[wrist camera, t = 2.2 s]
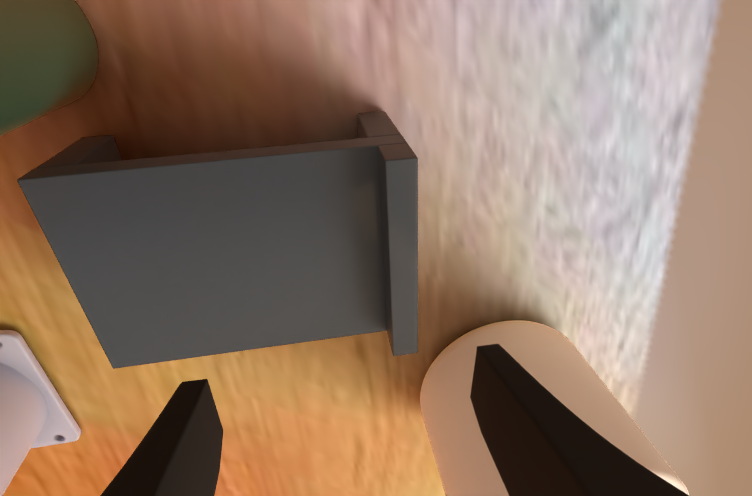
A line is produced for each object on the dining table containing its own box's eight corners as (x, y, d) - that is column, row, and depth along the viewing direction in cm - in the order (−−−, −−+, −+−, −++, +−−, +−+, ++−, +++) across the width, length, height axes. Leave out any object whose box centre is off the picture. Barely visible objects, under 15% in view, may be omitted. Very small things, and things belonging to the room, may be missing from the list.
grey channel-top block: (147, 300, 21) (97, 399, 16) (81, 137, 17) (-16, 199, 12) (391, 269, 22) (418, 353, 17) (385, 110, 18) (417, 157, 13)
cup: (509, 279, 24) (628, 438, 15) (595, 360, 28) (725, 519, 20) (381, 386, 26) (421, 572, 18) (478, 444, 31) (548, 617, 22)
